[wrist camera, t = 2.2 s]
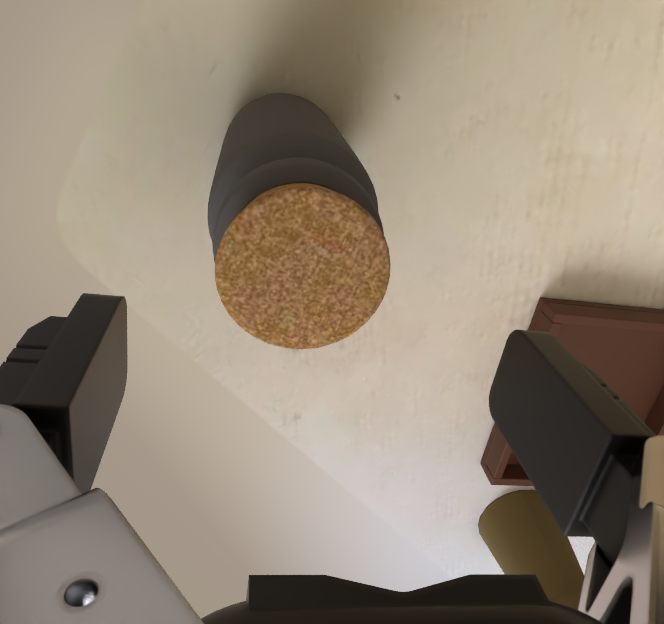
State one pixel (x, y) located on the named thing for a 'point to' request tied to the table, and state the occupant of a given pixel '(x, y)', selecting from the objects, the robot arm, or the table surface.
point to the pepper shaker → (532, 545)
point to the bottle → (295, 227)
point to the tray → (597, 366)
